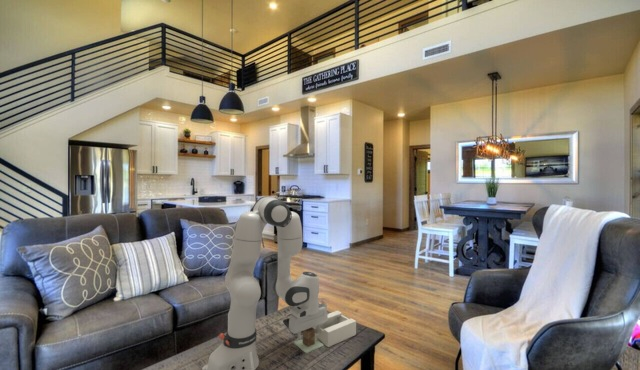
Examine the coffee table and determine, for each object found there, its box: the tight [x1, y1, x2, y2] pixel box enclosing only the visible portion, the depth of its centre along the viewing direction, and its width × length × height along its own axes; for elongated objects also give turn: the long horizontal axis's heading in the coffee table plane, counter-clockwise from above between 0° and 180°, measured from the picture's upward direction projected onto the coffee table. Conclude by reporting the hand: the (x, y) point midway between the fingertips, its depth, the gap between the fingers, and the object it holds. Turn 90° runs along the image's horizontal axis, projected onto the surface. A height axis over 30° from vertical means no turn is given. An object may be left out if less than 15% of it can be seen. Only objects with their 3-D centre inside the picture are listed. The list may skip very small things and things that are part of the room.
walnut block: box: [302, 327, 316, 347], centre depth 141 cm, size 4×4×7 cm
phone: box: [282, 317, 303, 336], centre depth 158 cm, size 8×1×15 cm
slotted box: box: [312, 310, 357, 348], centre depth 150 cm, size 18×14×7 cm
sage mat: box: [293, 338, 325, 354], centre depth 141 cm, size 10×10×1 cm
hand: (308, 336), depth 141 cm, fingers open, 8 cm apart
